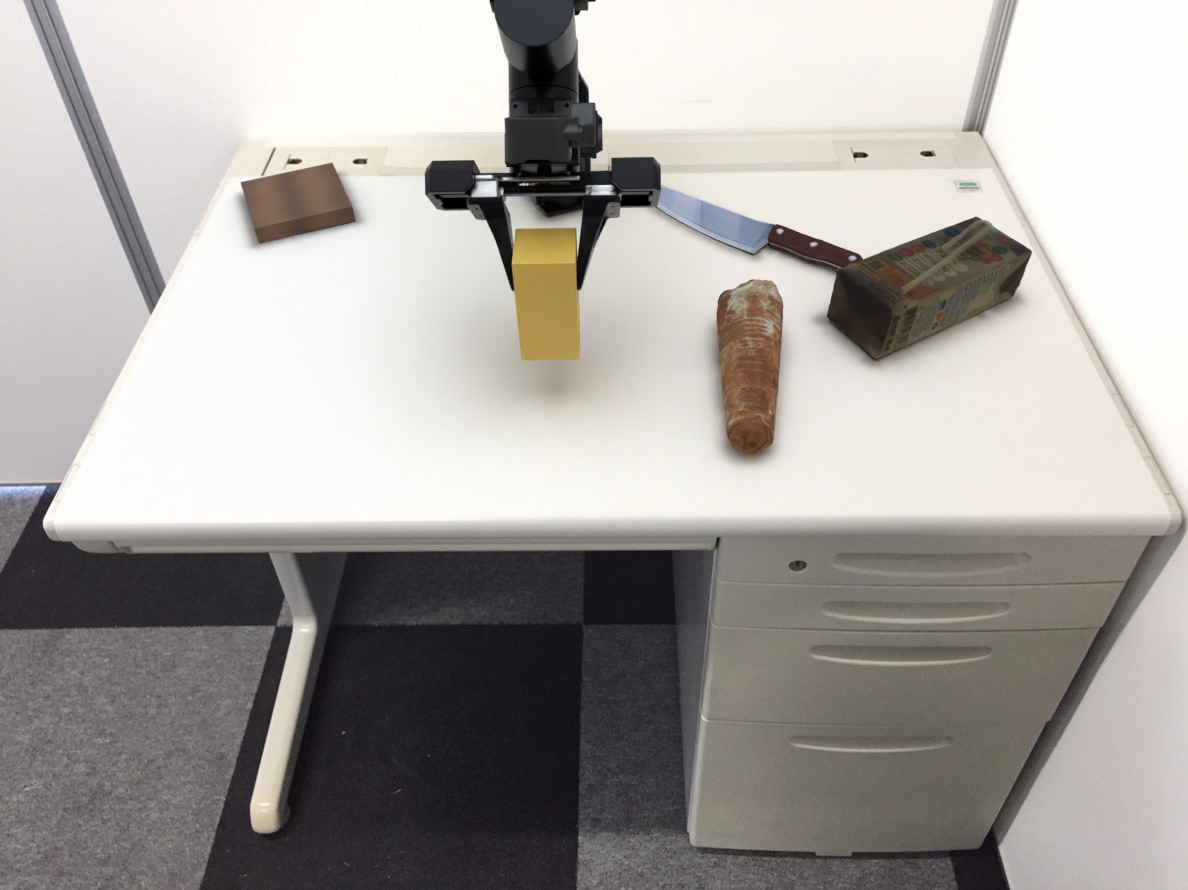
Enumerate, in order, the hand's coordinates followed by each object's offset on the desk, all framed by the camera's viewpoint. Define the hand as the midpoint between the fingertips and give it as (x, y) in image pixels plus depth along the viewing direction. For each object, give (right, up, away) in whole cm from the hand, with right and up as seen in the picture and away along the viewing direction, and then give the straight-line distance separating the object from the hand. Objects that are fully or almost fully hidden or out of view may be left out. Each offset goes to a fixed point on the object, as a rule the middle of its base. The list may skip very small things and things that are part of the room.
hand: (546, 290), depth 75 cm
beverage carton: (+37, +1, +17) cm, 41 cm away
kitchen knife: (+20, +12, +28) cm, 37 cm away
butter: (0, -4, +6) cm, 7 cm away
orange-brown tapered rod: (+19, -7, +10) cm, 22 cm away
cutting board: (-31, +15, +33) cm, 48 cm away
